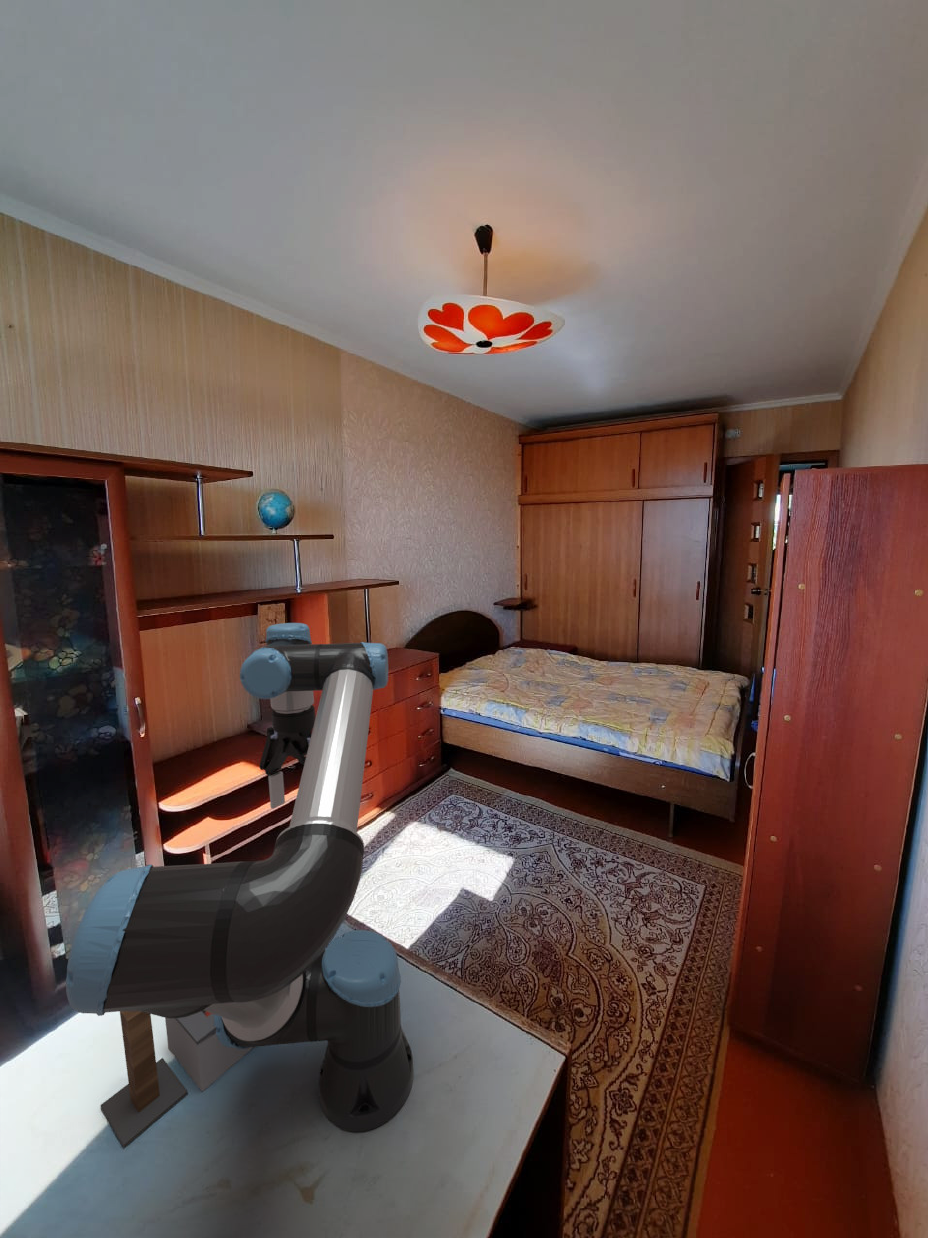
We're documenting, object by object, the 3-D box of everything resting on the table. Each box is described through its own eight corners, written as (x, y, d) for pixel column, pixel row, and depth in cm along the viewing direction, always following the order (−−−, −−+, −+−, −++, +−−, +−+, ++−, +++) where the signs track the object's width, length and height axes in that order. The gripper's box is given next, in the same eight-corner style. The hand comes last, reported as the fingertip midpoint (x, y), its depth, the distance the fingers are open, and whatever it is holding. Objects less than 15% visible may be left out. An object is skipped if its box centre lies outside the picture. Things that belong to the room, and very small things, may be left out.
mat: (187, 1094, 79) (187, 1091, 79) (123, 1149, 72) (123, 1145, 72) (162, 1060, 84) (162, 1057, 84) (100, 1108, 77) (100, 1105, 77)
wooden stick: (159, 1095, 78) (149, 1006, 76) (138, 1113, 76) (127, 1021, 74) (151, 1084, 80) (141, 996, 78) (130, 1100, 78) (119, 1010, 76)
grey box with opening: (269, 1033, 89) (266, 988, 88) (202, 1092, 79) (197, 1042, 78) (234, 998, 96) (230, 956, 95) (168, 1048, 86) (163, 1002, 85)
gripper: (356, 713, 87) (361, 825, 90) (269, 692, 101) (276, 790, 104) (322, 725, 81) (329, 846, 84) (235, 701, 95) (243, 805, 98)
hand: (300, 815), depth 94 cm, fingers open, 13 cm apart
